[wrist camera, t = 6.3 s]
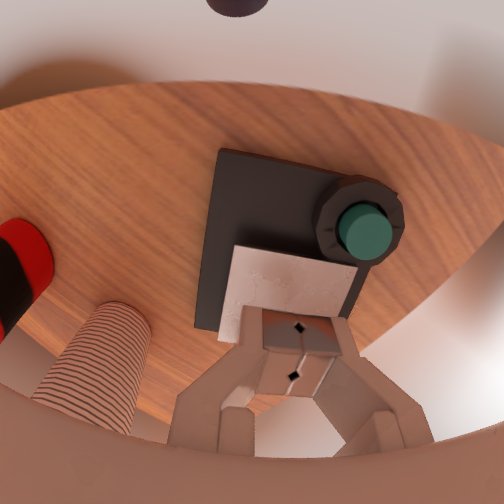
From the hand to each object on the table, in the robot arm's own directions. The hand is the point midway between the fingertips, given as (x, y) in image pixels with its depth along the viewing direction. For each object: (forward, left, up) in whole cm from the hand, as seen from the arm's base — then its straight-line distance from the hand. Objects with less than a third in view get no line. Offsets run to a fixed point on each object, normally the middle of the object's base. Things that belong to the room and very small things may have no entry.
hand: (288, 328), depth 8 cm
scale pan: (+6, +2, -10) cm, 12 cm away
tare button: (0, +6, -10) cm, 12 cm away
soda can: (+9, -21, -13) cm, 26 cm away
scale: (+4, +2, -13) cm, 14 cm away
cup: (+14, -11, -13) cm, 22 cm away
